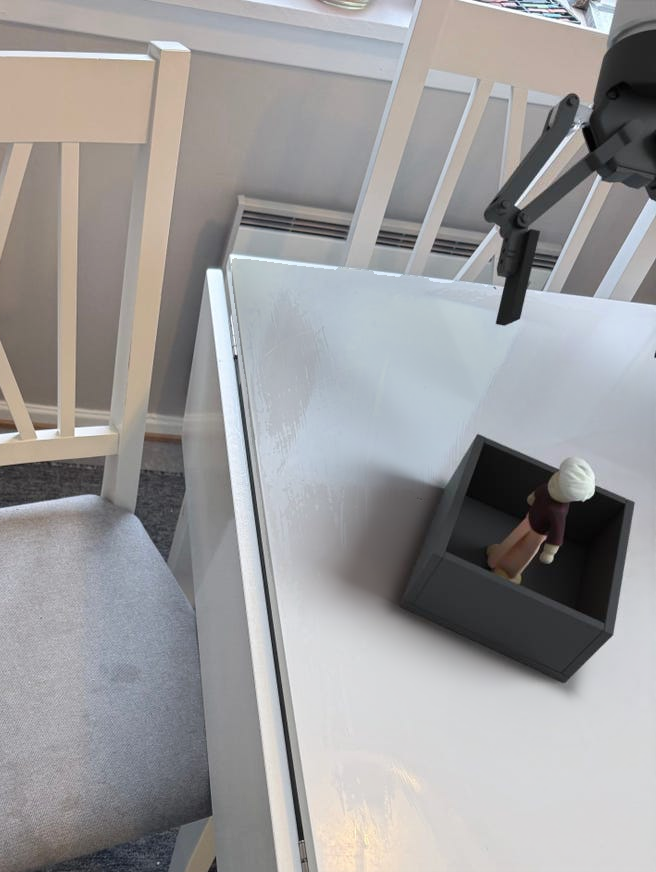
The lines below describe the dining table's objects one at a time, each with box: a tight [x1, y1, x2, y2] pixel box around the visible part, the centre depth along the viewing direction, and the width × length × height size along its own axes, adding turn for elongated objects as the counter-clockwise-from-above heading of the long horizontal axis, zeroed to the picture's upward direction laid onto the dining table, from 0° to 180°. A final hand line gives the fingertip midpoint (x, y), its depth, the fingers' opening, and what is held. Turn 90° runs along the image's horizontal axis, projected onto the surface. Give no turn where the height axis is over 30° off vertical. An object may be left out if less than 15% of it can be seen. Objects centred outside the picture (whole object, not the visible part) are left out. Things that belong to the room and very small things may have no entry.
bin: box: [399, 433, 636, 683], centre depth 73 cm, size 15×17×7 cm
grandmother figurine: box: [486, 456, 596, 584], centre depth 70 cm, size 8×4×13 cm, turn 5°
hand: (588, 339), depth 68 cm, fingers open, 13 cm apart
